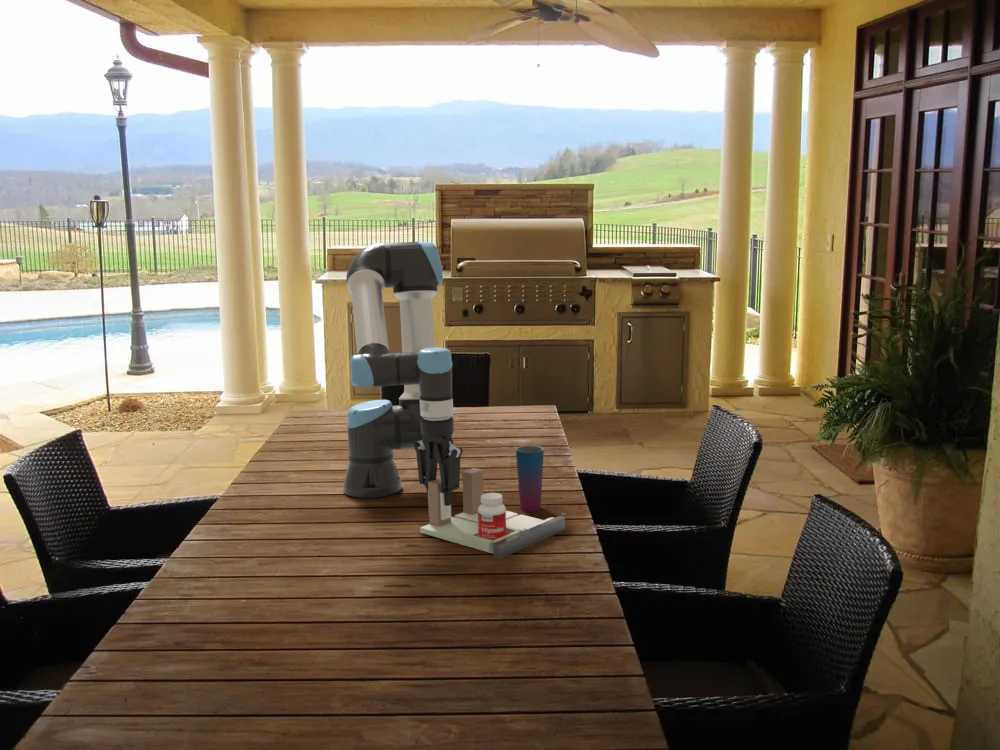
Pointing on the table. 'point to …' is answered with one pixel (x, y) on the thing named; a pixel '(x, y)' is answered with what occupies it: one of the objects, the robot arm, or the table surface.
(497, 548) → the end bar
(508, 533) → the pale green stand
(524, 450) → the cup
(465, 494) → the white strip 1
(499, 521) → the pill bottle
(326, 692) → the table surface
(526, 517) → the white strip
